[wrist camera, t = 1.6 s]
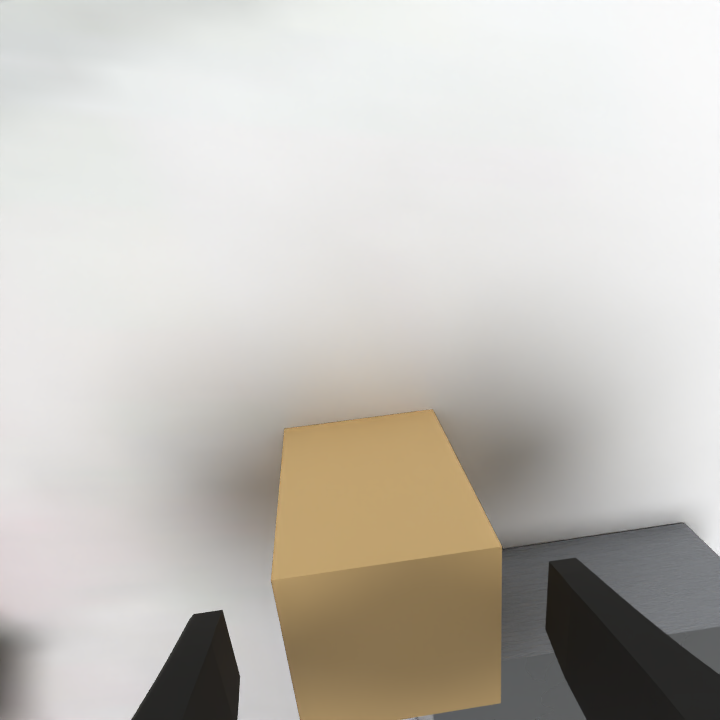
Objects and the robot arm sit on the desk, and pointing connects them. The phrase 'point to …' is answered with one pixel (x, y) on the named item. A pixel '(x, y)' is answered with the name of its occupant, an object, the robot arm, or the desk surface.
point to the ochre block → (385, 572)
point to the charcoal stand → (627, 578)
